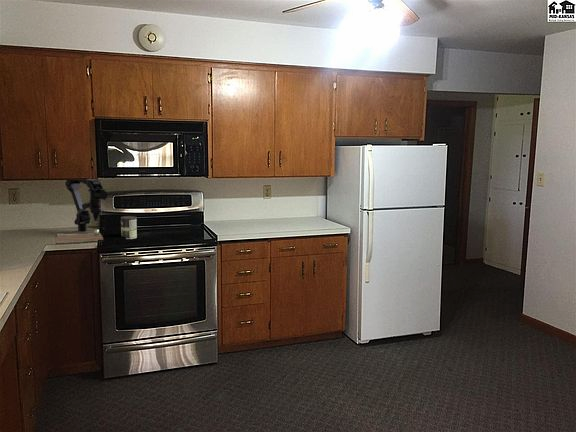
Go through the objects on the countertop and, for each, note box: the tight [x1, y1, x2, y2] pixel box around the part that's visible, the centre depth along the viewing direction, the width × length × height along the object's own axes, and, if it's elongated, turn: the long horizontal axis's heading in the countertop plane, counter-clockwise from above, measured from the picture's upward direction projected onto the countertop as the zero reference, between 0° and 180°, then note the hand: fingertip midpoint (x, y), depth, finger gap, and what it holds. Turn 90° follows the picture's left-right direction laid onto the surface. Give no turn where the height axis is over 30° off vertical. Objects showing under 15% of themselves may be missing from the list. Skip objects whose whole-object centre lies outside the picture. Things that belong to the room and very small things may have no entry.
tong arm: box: [65, 228, 101, 237], centre depth 331 cm, size 22×3×4 cm, turn 115°
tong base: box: [56, 232, 86, 237], centre depth 330 cm, size 5×20×2 cm, turn 115°
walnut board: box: [55, 233, 104, 245], centre depth 325 cm, size 20×28×2 cm
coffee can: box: [120, 215, 138, 240], centre depth 335 cm, size 10×10×14 cm
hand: (95, 220), depth 340 cm, fingers closed
